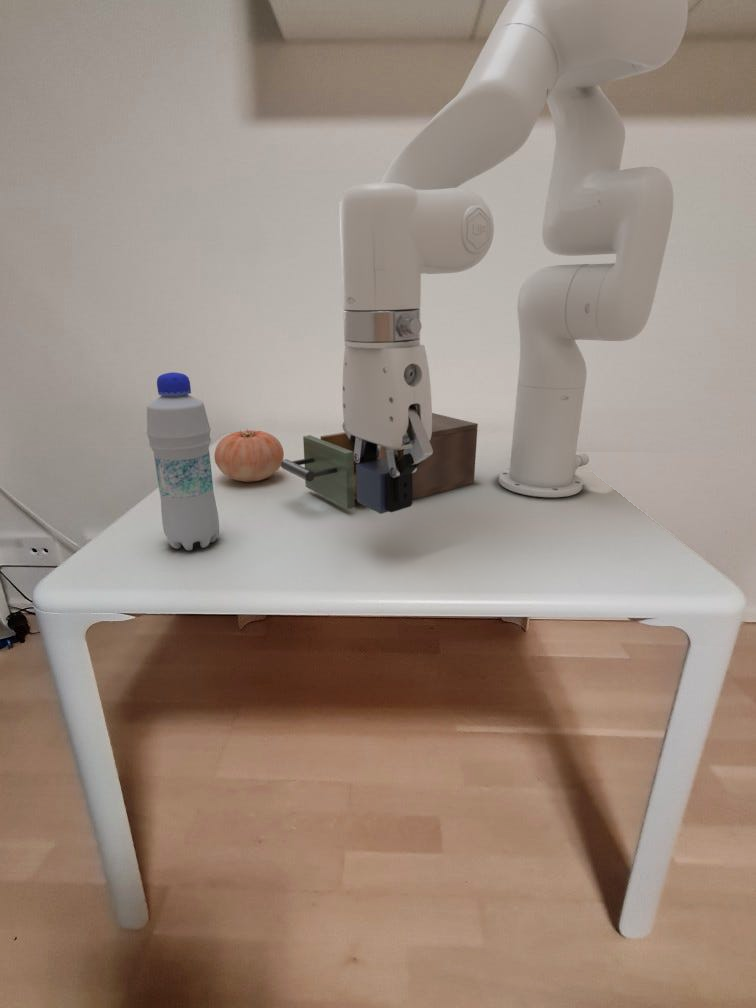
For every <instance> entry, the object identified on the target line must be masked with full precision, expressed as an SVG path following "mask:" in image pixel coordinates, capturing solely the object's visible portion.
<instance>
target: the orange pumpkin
mask: <svg viewBox="0 0 756 1008" xmlns="http://www.w3.org/2000/svg"><path fill="white" fill-rule="evenodd" d="M214 450H215V451H214V455H213V456H214V458H213V459H214V462H215V464H216V466H217V468H218V469H219V471H220V472H221V473H222V474H223V475H225V476H226V477H228V478H229V479H232V480H234V481H239V482H245V483H254V482H259V481H263V480H265V479H269V478H270V477H272V476H273V475H274V474H276V473H277V472H278V471H279V470H280V468H281V462H282V461H283V460H284V457H285V456H284V455H285V452H284V448H283V445H282V444H281V442H280V440H279V439H278V438H277V437H276V436H275V435H273V434H270V433H268V432H266V431H262V430H248V429H246V430H242V431H241V429H240V430H239V431H235V432H231V433H229V434H227V435H225V436H224V437H222V438H221V439H220V440H219V441H218V443H217V445H216V447H215V449H214Z"/></svg>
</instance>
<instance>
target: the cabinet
mask: <svg viewBox="0 0 756 1008" xmlns="http://www.w3.org/2000/svg"><path fill="white" fill-rule="evenodd" d="M478 426H479V424H478V423H477V422H472V421H468V420H464V419H460V418H457V417H456V418H455V417H451V416H446V415H444V414H443V415H442V414H438V413H434V412H432V435H431V439H430V444H431V446H432V449H433V453H432V455H430V456H429V457H427V458H426V459H425V460H423V461H422V462H421V463H420V464H419V465H418V467H417V470H416V472H414V473H413V481H412V501H414V500H418V499H421V498H425V497H428V496H429V497H430V496H432V495H436V494H440V493H443V492H446V491H451V490H454V489H458V488H462V487H466V486H470V485H473V484H475V473H476V471H475V470H476V457H477V441H478ZM402 443H403V441H402ZM403 456H404V451H403V450H402V451H400V459H401V458H402V457H403Z"/></svg>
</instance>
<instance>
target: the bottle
mask: <svg viewBox="0 0 756 1008" xmlns="http://www.w3.org/2000/svg"><path fill="white" fill-rule="evenodd" d="M156 388H157V393H158V396H159V397H157V398H155V399H154V400H152V401H151V402H149V403H148V404H147V405H146V436H147V438H148V441H149V443H148V446H149V447H150V449H151V450H152V452H153V458H154V464H155V465H154V466H155V471H156V478H157V484H158V490H159V491H158V492H159V496H160V510H161V523H162V529H163V533H164V535H165V537H166V540H167V542H168V544H169V545H170V546H171V547H172V548H173V549H176V550H177V549H181V547H182V546H183V549H185V551H192V550H193V548H194V543H196V542H199V546H200V547H201V548H203V549H204V548H207V547H208V546H209V545H210V543H214V542H215V541H216V540H217V539H218V537H219V533H220V521H219V520H220V519H219V512H218V506H217V502H216V496H215V491H214V481H213V480H214V479H213V472H212V464H211V454H210V445H211V441H212V438H211V430H212V429H211V426H210V423H209V418H208V415H207V410H206V407H205V404H204V402H203V401H202V400H201V399H198V398H196V397H194V396H191V395H190V394H192V388H191V381H190V378H189V376H188V375H186V374H185V373H182V372H181V373H180V372H175V371H174V372H172V371H171V372H167V373H162V374H160V375H159V376H158V377H157V379H156Z"/></svg>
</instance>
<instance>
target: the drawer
mask: <svg viewBox="0 0 756 1008" xmlns="http://www.w3.org/2000/svg"><path fill="white" fill-rule="evenodd" d="M302 439H303V440H302V441H303V442H302V443H303V458H302V459H297V460H292V461H291V460H290V459H286V458H285V459H284V458H283V461H282V462H281V466H280V468H281V469H283V470H285V471H287V472H289V473H291V474H293V475H295V476H296V477H299V478H301V479H303V480H304V481H305V487H306V488H307V489H308V490H311V491H313V492H314V493H316V494H318V495H320V496H322V497H324V498H326V499H328V500H330V502H331V501H332V502H333V503H335V504H337V505H339V506H341V507H343V508H345V509H347V510H348V509H352V508H355V501H357V478H356V465H357V464H359V463H356V462H355V460H354V449H353V447H352V445H351V443H350V439H349V438H348V436H347V435H346V433H345V432H344V431H343V432H337V433H331V434H325V435H320V438H319V437H316V436H313V435H310V434H309V435H304V436H303V437H302ZM370 444H371V442H370ZM397 453H398V460H400V451H398V452H397ZM383 458H387V453H386V447H383V446H381V447H380V454H379V458H377V459H383ZM302 465H304V466H302Z"/></svg>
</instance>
